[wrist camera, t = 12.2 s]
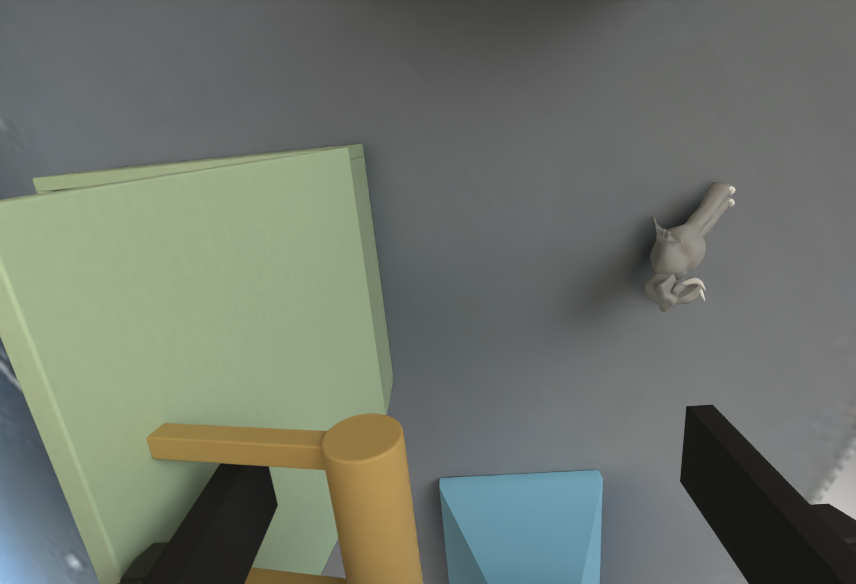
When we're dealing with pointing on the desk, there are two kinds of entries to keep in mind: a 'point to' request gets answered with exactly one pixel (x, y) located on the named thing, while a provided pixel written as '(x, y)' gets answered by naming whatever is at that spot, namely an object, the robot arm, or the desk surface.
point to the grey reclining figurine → (684, 251)
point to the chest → (354, 151)
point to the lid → (210, 361)
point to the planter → (523, 528)
